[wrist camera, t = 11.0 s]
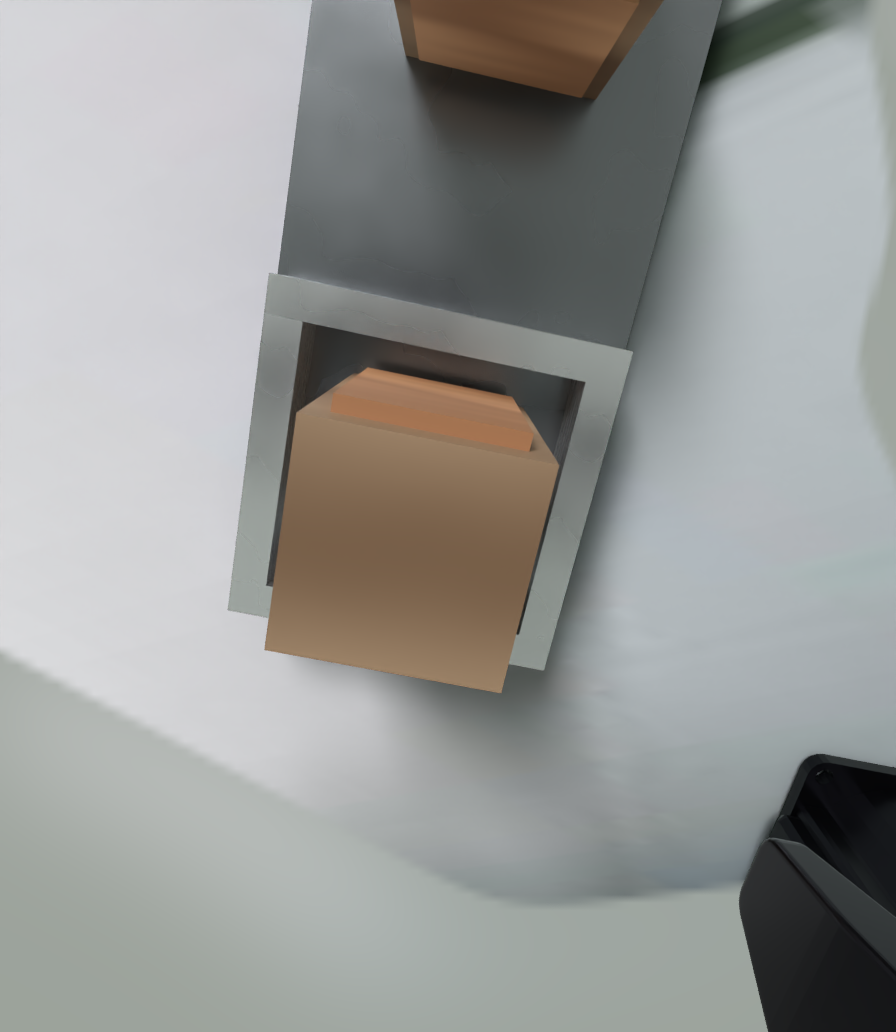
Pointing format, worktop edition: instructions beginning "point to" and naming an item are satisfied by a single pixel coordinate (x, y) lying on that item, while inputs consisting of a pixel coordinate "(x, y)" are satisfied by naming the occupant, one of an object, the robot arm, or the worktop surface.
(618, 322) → the grey base plate
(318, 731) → the worktop surface
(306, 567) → the tan wooden block
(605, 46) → the brown wooden block
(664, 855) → the worktop surface
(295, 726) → the worktop surface
